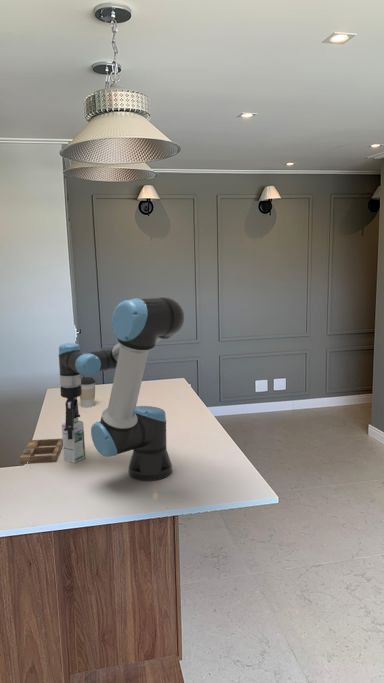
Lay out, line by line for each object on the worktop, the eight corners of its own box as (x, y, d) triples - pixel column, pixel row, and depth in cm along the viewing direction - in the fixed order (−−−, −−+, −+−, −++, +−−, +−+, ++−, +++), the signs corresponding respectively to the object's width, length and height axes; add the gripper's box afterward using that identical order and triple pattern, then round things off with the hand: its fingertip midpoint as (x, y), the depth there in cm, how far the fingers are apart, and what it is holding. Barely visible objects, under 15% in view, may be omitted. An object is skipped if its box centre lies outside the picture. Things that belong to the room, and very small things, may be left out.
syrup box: (74, 463, 181) (72, 425, 179) (63, 460, 184) (61, 423, 182) (85, 458, 186) (83, 421, 184) (74, 455, 189) (72, 419, 187)
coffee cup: (100, 404, 261) (98, 377, 258) (87, 409, 253) (86, 380, 251) (87, 402, 265) (86, 375, 263) (75, 406, 258) (73, 378, 256)
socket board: (56, 461, 183) (55, 454, 182) (20, 463, 181) (19, 456, 181) (63, 444, 201) (63, 437, 201) (30, 446, 200) (30, 439, 199)
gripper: (77, 393, 169) (79, 452, 172) (84, 377, 193) (86, 429, 197) (55, 394, 168) (57, 453, 171) (65, 378, 193) (67, 430, 196)
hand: (73, 440), depth 184 cm, fingers open, 13 cm apart
